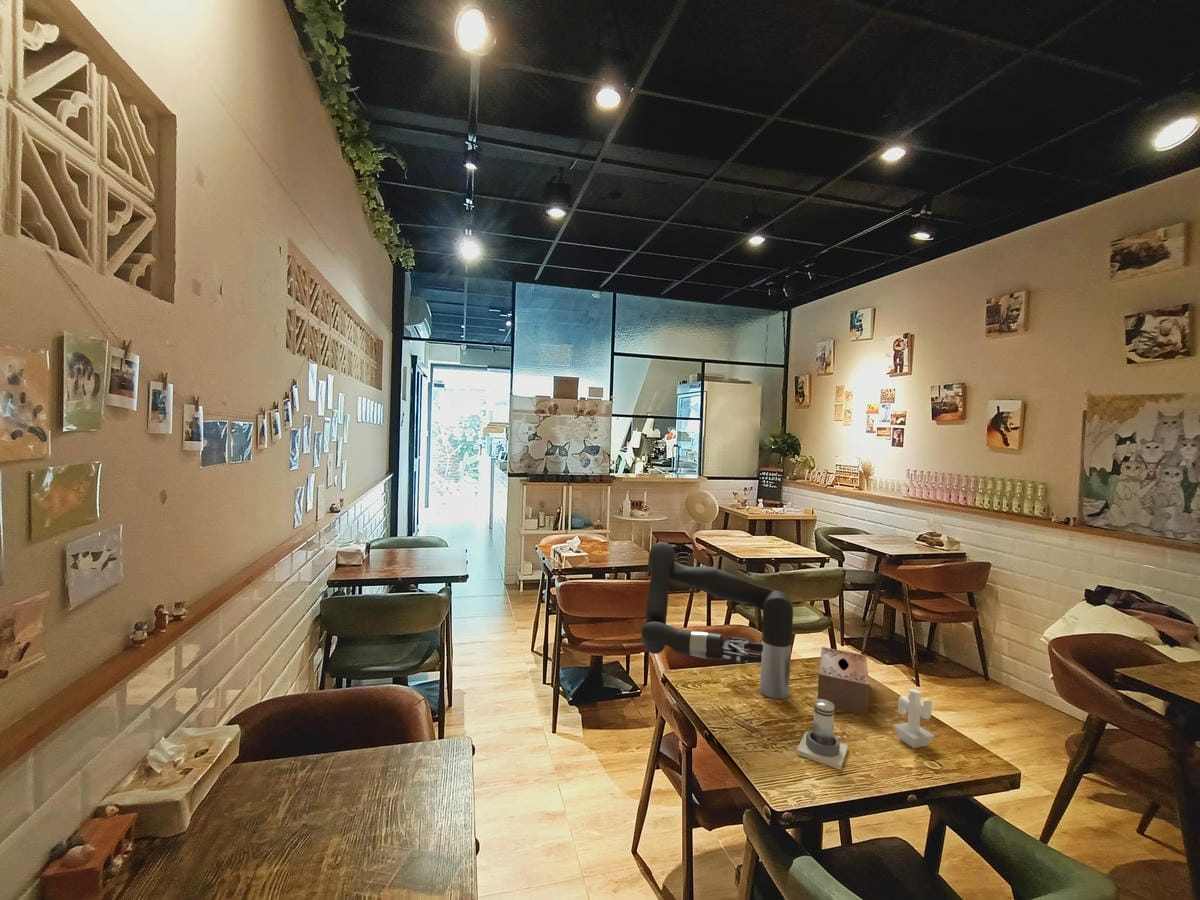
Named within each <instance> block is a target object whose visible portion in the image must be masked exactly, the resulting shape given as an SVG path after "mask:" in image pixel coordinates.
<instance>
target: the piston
mask: <svg viewBox="0 0 1200 900" xmlns="http://www.w3.org/2000/svg"><path fill="white" fill-rule="evenodd" d="M835 709H836V708H834V704H833V703H832V702H830V701H828V700H824V699H818V698H816V699H815V700H814V701H813V727H812V730H813V740H814V741H815V742H817V743H819V744H822V745H828V746H832V745H833V735H834V725H835V724H834V723H835V722H834V721H835V720H834V719H835V711H836V710H835Z"/></svg>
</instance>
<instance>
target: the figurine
mask: <svg viewBox="0 0 1200 900" xmlns="http://www.w3.org/2000/svg"><path fill="white" fill-rule="evenodd" d="M908 694H909V695H908V697H907V696H905V695H900V697H899V699H898V706H897V707H898V709H897V713H898V714H899V715H902V716H903V715H906V714H907V710H908V716H907V717H908V720H907V722H903V723H902V722H901V723H895V724H894V723H893V724H892V726H893V728H894V730H895V733H896V734H897V737H898V738H899V740H900V741H901V742H903V743H905V744H906V745H907V746H909V747H911V748H912V749H916V748H924V747H927V745H928V744H929V743H930V742H931V740H933V738H934V737H935V734H933V733H931V732H930V731H928V730H926V729H925V728H923V727H921V726H920V725H921V724H920V718H922V719H925V720H929V719H931V716H932V705H933V701H932V700H931V699H930V698H925V699H923V701H922V700H921V699H922V691H921V690H918V689H915V688H911V689H909V693H908ZM921 701H922V702H923V704H922V703H921ZM923 746H924V747H923Z"/></svg>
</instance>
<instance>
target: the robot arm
mask: <svg viewBox="0 0 1200 900" xmlns="http://www.w3.org/2000/svg"><path fill="white" fill-rule="evenodd" d="M675 553H676V552H675V549H674V548H673V546H672V545H670V543H667V542H664V541H659V542H656V543H654V544H653V545H652V547H650V550H649V554H648V560H647V561H648V562H647V566H648V569H649V571H650V572H651V574H650V581H649V587H648V591H647V592H648V593H647V595H646V597H647V598H646V605H645V621H646V623H645V624H643V626H642V628H641V630H640V633H641V637H642V642H643V645H644V648H645V649H646V651H648V652H649V653H651V654H653V655H654V654H655V655H657V654H660V653H662V651H664V649H665V648H666V646H667V647H670V649H672V651H673V652H674V653H677V654H682V655H687V656H693V657H696V658H701V659H706V660H707V659H708V660H715V661H721V660H722V659H723V661H724V662H730V663H734V664H735V663H736V664H741V665H745V663H748V662H750V663H751V662H753V663H758V664H759V663H761V664H760V678H759V679H760V682H759V691H760V693H761V694H762V695H763V696H766V697H768V698H771V699H775V700H785V699H787V698H788V697H789V696H790V684H791V683H790V682H791V681H790V679H791V678H790V677H791V658H792V641H793V640H792V639H793V638H792V637H793V625H794V624H793V622H794V621H793V619H794V605H793V602H792V600H791V598H790V596H788V595H787V594H786V593H785V592H782V591H779V590H775V589H772V588H768V587H765V586H761V585H759V584H755V583H753V582H750V581H748V580H746V579H743V578H741V577H740V576H737V575H734V574H731V573H730V572H728V571H724V570H723V569H719V568H717V567H713V566H687V565H685V564H681V563H679V562H676V559H675V558H676V554H675ZM670 581H674V582H677V583H681V584H684V585H687V586H690V587H692V588H694V589H696V590H700V591H702V592H704V593H707V594H709V595H711V596H713V597H716V598H718V599H721V600H726V601H730V602H738V603H744V604H747V605H751V606H753V607H756V608H757V609H759V610H761V611H762V632H761V633H762V635H761V637H762V638H761V640H762V641H761V643H760V642H759V643H758V642H751V641H749V638H745V637H739V636H738V637H737V636H728V637H727V640H724V635H723V634H722V633H718V632H717V633H716V632H714V633H713V632H707V631H702V630H687V629H680V628H677V627H675V626H672V625H669V624H667V617H668V604H669V603H668V602H669V584H670ZM746 651H752V652H746ZM753 651H754V652H757V653H753ZM758 652H761V654H760V653H758Z"/></svg>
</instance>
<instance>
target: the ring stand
mask: <svg viewBox="0 0 1200 900" xmlns="http://www.w3.org/2000/svg"><path fill="white" fill-rule="evenodd" d="M848 751H849V745H848V744H845V743H842V742H841V741H840V740H839V738H838V737H837V736H835V735H834V734H833V745H832V746H828V745H822V744H819V743H817V742H815V741H814V740H813V729H812V730H809V731H805V732H804V735H802V738H801V740H800V742H799V744H798V746H797V748H796V753H795V754H796V755H799V756H800V757H803V758H806V759H809V760H811V761H813V762H814V761H815V762H818V763H820V764H823V765H825V766H828V767H832V768H834V769H836V770H839V771H841V770H842V768H843V765H844V762H845V760H846V756H847V753H848Z"/></svg>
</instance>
